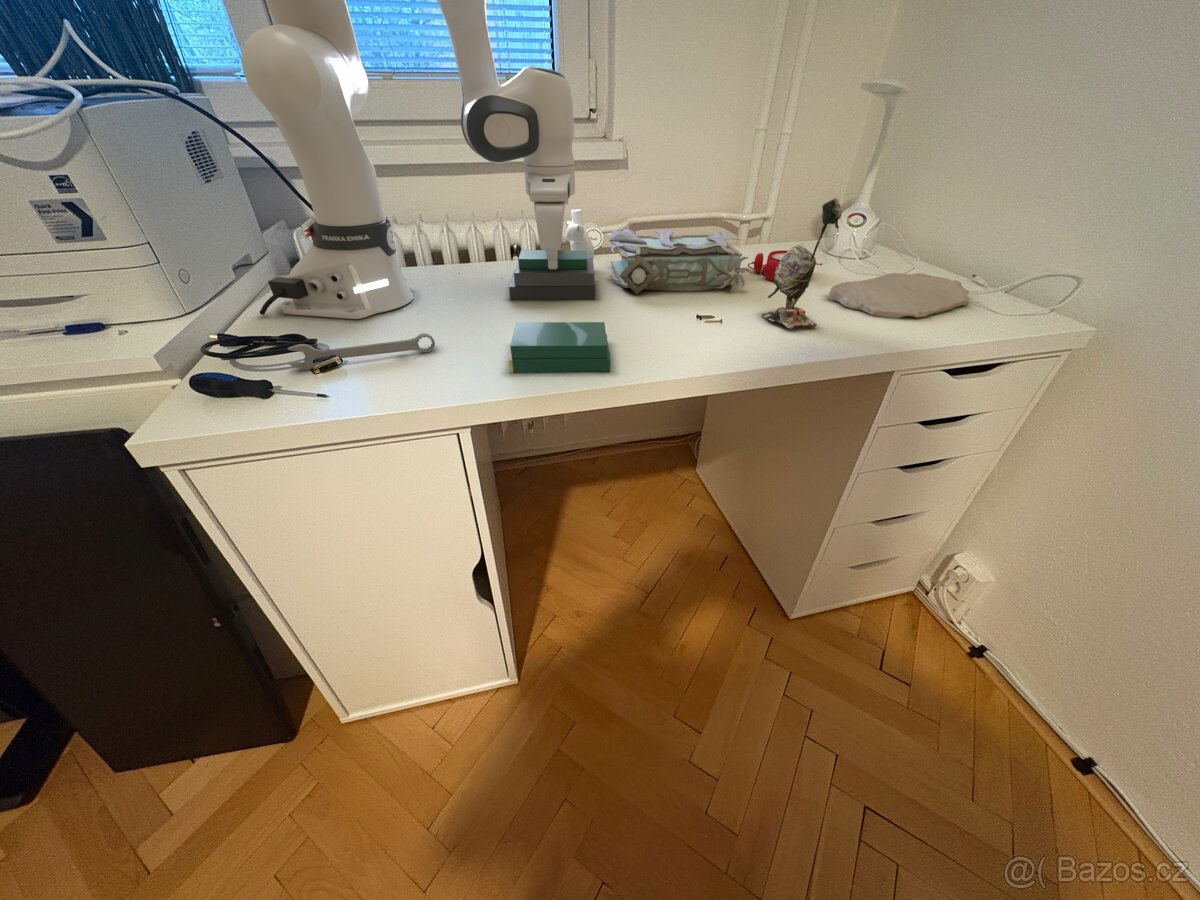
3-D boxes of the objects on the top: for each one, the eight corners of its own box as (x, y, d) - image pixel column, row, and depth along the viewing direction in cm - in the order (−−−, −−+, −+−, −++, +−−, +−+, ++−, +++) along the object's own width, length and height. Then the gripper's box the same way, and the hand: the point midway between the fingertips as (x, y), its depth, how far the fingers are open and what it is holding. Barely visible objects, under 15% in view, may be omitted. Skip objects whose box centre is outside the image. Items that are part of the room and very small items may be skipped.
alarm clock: (829, 262, 103) (772, 249, 98) (815, 291, 107) (759, 280, 102) (801, 250, 111) (747, 237, 106) (789, 277, 115) (736, 266, 110)
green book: (519, 269, 92) (518, 259, 91) (521, 260, 97) (520, 250, 96) (587, 269, 92) (587, 259, 91) (586, 260, 97) (586, 250, 96)
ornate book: (616, 303, 96) (761, 294, 98) (616, 253, 90) (770, 244, 92) (602, 269, 114) (725, 262, 116) (601, 225, 108) (731, 219, 110)
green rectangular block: (510, 372, 69) (507, 347, 67) (515, 346, 76) (513, 321, 74) (609, 371, 70) (610, 346, 67) (606, 345, 77) (606, 321, 74)
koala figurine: (561, 263, 113) (559, 207, 105) (589, 262, 114) (590, 206, 106) (566, 274, 106) (564, 215, 99) (596, 273, 107) (596, 214, 100)
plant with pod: (793, 307, 92) (824, 190, 80) (821, 331, 83) (860, 202, 71) (752, 308, 91) (777, 190, 79) (775, 332, 82) (807, 202, 70)
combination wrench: (432, 328, 73) (282, 344, 67) (433, 331, 72) (281, 347, 66) (436, 351, 75) (291, 368, 69) (437, 354, 74) (290, 372, 68)
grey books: (510, 299, 93) (507, 273, 90) (515, 281, 102) (513, 257, 99) (595, 299, 94) (595, 273, 91) (593, 281, 102) (593, 257, 99)
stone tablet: (818, 296, 97) (821, 284, 95) (918, 278, 107) (922, 267, 106) (888, 327, 85) (893, 314, 84) (993, 303, 95) (999, 291, 94)
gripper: (536, 174, 94) (540, 248, 102) (528, 192, 78) (534, 278, 86) (568, 174, 94) (569, 248, 103) (567, 192, 78) (569, 278, 86)
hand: (553, 262), depth 94 cm, fingers closed on green book, 6 cm apart
